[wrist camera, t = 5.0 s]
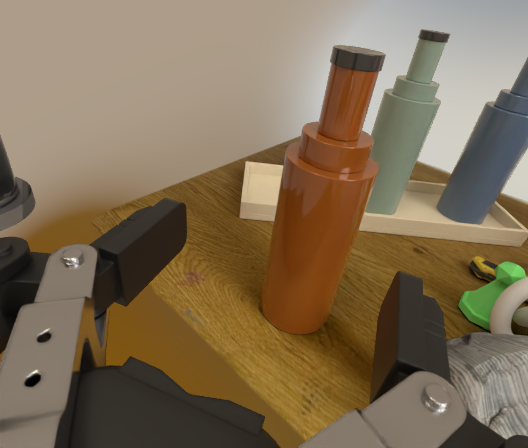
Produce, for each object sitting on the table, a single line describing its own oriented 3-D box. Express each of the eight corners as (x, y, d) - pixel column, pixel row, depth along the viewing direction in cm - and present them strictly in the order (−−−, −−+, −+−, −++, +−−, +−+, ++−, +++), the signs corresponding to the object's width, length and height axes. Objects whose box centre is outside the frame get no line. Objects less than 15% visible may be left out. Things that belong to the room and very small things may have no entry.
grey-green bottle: (342, 196, 45) (392, 24, 34) (373, 189, 48) (429, 29, 37) (373, 219, 41) (442, 34, 30) (406, 211, 44) (480, 38, 33)
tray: (239, 218, 39) (240, 201, 38) (244, 175, 49) (245, 161, 47) (520, 247, 42) (531, 232, 40) (474, 201, 51) (481, 188, 49)
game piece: (515, 337, 29) (557, 289, 26) (463, 323, 30) (498, 274, 26) (499, 302, 32) (534, 255, 29) (453, 290, 33) (482, 243, 30)
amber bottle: (248, 292, 30) (282, 37, 18) (302, 274, 33) (361, 43, 21) (284, 345, 26) (356, 59, 14) (342, 320, 29) (441, 63, 17)
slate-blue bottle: (427, 205, 46) (504, 41, 35) (453, 198, 49) (532, 44, 37) (466, 229, 42) (568, 52, 31) (492, 220, 45) (594, 54, 33)
